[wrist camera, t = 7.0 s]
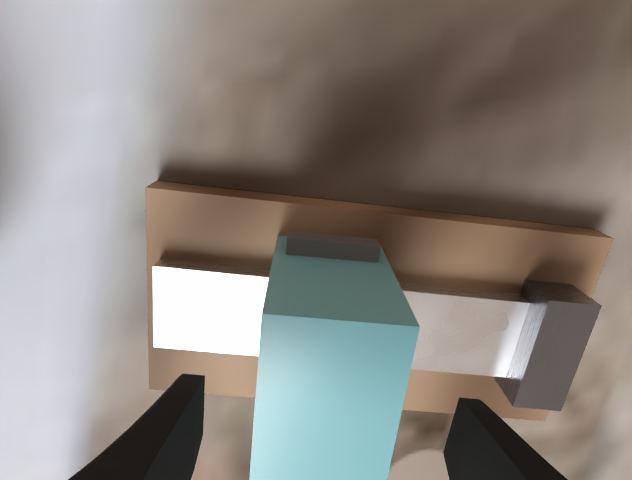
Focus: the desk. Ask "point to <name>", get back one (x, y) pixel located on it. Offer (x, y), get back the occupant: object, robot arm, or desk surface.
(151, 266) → the mounting board
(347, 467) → the block
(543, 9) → the desk surface
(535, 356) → the rail
